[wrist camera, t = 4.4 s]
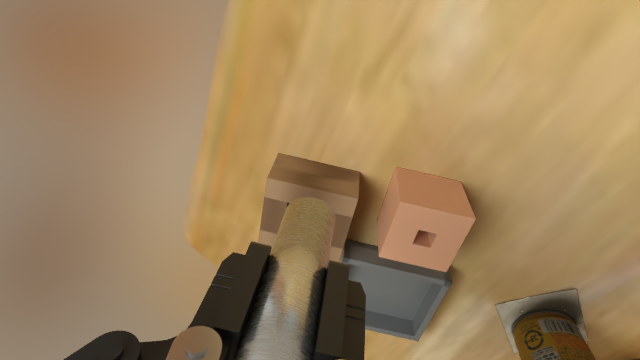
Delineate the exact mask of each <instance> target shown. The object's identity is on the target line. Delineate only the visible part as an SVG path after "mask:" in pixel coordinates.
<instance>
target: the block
mask: <svg viewBox="0 0 640 360" xmlns="http://www.w3.org/2000/svg"><path fill="white" fill-rule="evenodd" d="M377 220H378V254H379V257H382V258H386V259H390V260H395V261H399V262H403V263H408V264H412V265H417V266H421V267H425V268H430V269H434V270H438V271H443V272H447V270H448V269H449V267H450V265H451V263H452V261H453V259H454V258H455V256H456V254H457V252H458V250H459V249H460V247H461V245H462V243H463V241H464V240H465V238H466V236H467V234H468V232H469V230H470V229H471V227H472V225H473V223H474V221H475V220H476V218H475V216H474V213H473V211H472V208H471V206H470V203H469V201H468V198H467V196H466V193H465V191H464V188H463V186H462V183H461V182H459V181H455V180H451V179H446V178H442V177H438V176H433V175H429V174H425V173H420V172H416V171H412V170H407V169H403V168H399V167H396V168H395V171H394V174H393V177H392V179H391V182H390V185H389V188H388V190H387V193H386V196H385V199H384V201H383V204H382V207H381V210H380V212H379V215H378V218H377Z"/></svg>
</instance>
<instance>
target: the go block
mask: <svg viewBox="0 0 640 360" xmlns="http://www.w3.org/2000/svg"><path fill="white" fill-rule="evenodd" d="M359 176H360V172H358V171H353V170H349V169H345V168H340V167H336V166H332V165H327V164H323V163H319V162H314V161H310V160H306V159H301V158H297V157H293V156H289V155H284V154H280V153H278V155H277V158H276V160H275V162H274V164H273V166H272V169H271V171H270V173H269V175H268V177H267V183H266V190H265V197H264V204H263V211H262V219H261V226H260V233H259V240H258V243H261V244H265V245H269V246H271V249H272V247H273V244H274V242H275V239H276V236H277V233H278V230H279V228H280V225H281V222H282V219H283V216H284V214H285V211H286V208H287V206H288V205H289V204H290V203H291V202H292V201H294V200H295V199H298V198H301V197H314V198H318V199H320V200H322V201H324V202H325V203H327V204H328V205H329V206H330V207H331V209H332V210H333V212H334V215H335V225H334V232H333V238H332V245H331V251H330V257H329V260H332V261H336V262H339V259H340V256H341V253H342V249H343V246H344V243H345V240H346V237H347V234H348V230H349V227H350V224H351V221H352V218H353V215H354V211H355V208H356V205H357V202H358V197H359Z"/></svg>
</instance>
